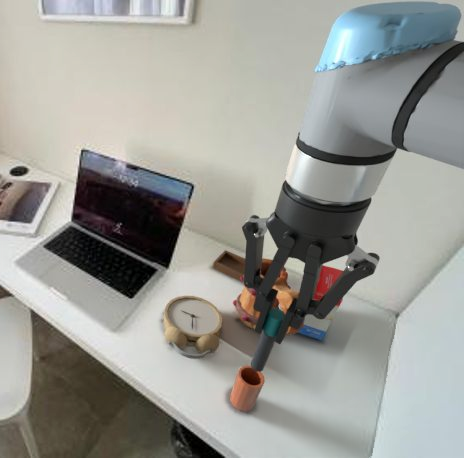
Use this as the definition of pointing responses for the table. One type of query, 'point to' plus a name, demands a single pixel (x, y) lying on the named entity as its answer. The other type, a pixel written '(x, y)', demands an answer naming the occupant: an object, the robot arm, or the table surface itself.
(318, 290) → the ink box
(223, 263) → the pen tray
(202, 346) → the alarm clock
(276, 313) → the marker
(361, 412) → the table surface
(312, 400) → the table surface
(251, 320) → the mug
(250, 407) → the pen pot
